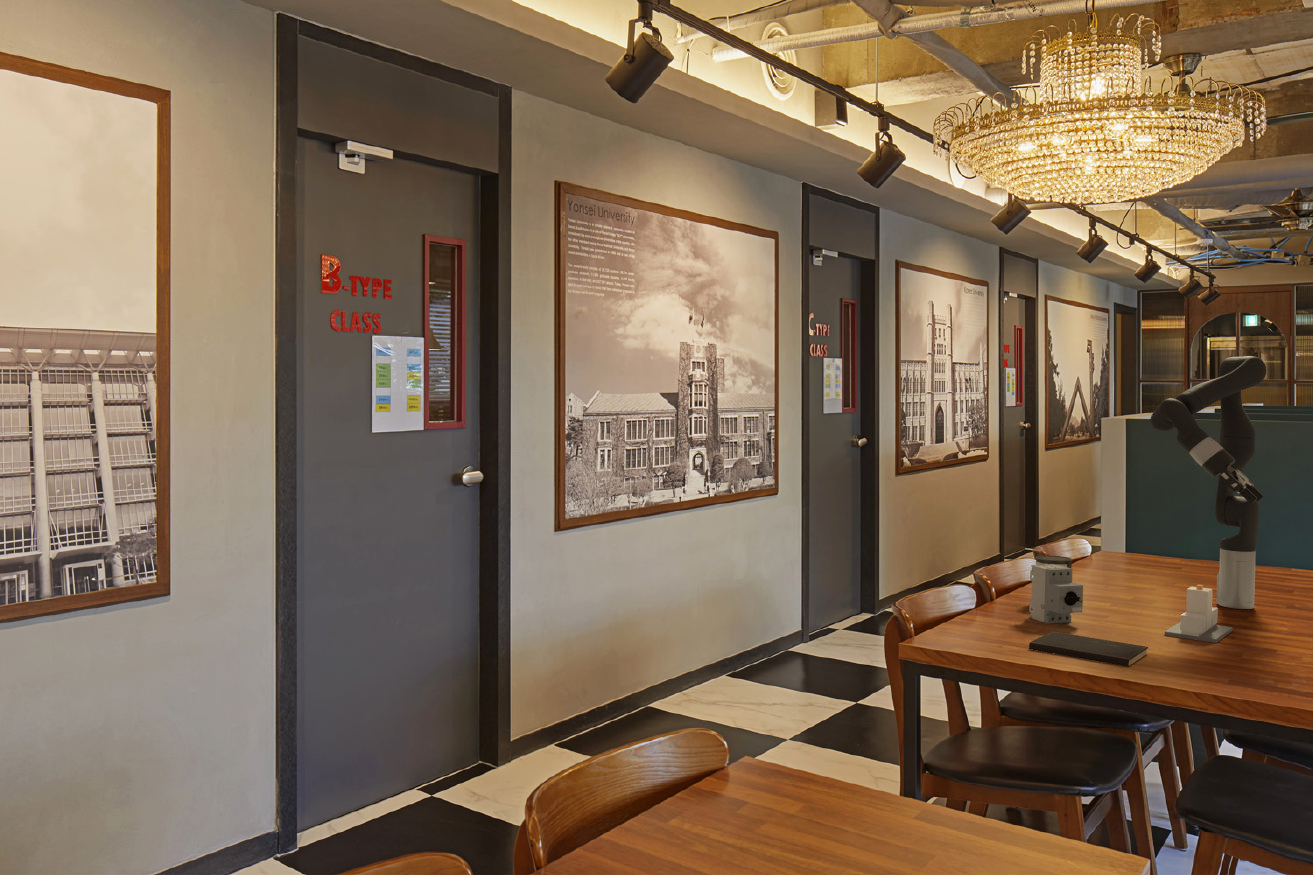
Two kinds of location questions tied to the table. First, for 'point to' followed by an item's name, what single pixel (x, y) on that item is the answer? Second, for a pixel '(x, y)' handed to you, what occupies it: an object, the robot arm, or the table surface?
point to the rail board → (1205, 637)
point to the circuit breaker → (1054, 594)
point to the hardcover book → (1089, 648)
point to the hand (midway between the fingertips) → (1257, 500)
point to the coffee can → (1054, 561)
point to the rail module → (1200, 602)
